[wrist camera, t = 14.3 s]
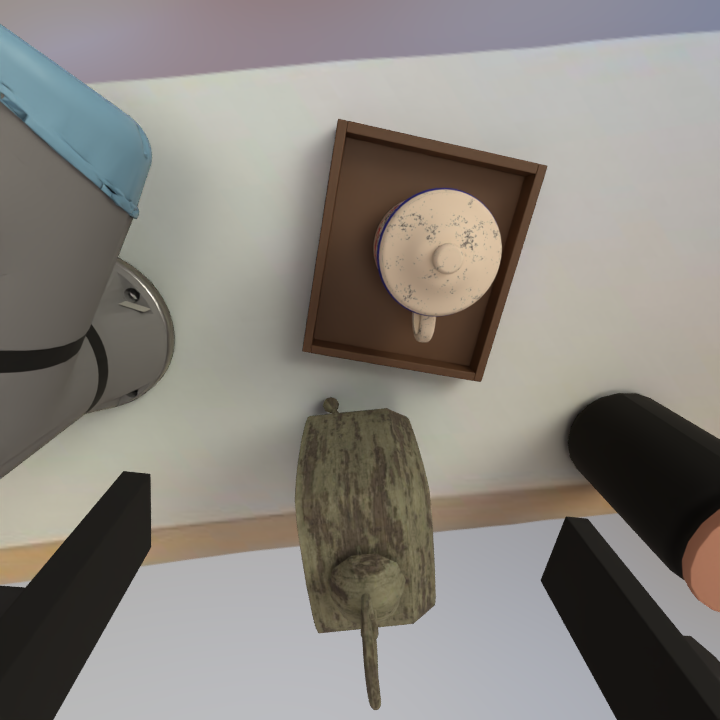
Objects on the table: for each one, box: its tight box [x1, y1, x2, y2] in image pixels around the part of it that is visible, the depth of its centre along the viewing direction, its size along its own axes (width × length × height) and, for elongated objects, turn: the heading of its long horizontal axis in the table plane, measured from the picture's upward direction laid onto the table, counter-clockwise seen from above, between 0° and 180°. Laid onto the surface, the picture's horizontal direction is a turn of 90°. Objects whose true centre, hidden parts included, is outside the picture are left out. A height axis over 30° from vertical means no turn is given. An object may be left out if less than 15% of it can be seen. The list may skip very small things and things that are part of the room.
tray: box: [302, 119, 547, 382], centre depth 37 cm, size 18×20×3 cm
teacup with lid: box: [373, 188, 502, 342], centre depth 33 cm, size 12×9×12 cm
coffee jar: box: [568, 393, 720, 612], centre depth 37 cm, size 11×11×18 cm
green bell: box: [295, 397, 436, 710], centre depth 33 cm, size 14×9×25 cm, turn 6°
